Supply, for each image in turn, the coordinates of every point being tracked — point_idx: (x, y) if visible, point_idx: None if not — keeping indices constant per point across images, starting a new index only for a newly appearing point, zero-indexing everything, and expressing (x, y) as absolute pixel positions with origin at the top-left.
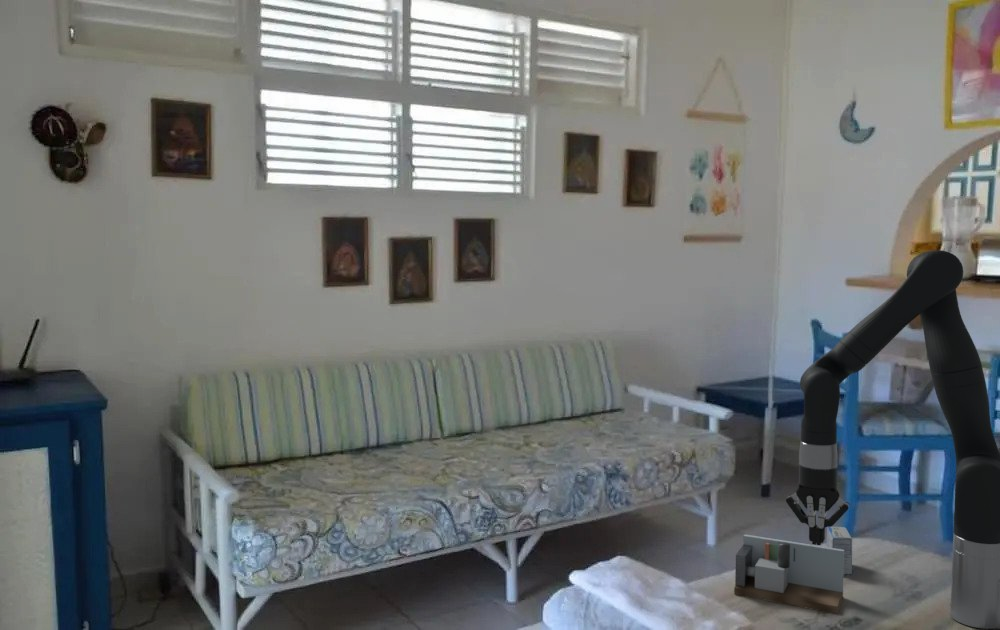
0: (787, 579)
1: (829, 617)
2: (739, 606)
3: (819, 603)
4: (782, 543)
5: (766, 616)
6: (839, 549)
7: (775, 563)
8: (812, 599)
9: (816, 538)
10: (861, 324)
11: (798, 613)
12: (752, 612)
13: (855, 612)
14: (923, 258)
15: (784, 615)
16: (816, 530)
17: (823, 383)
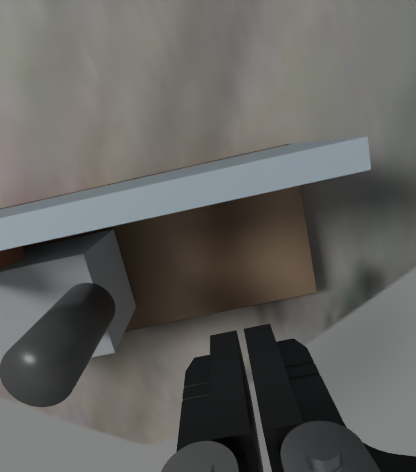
0: (109, 242)
1: (298, 320)
2: (65, 406)
3: (260, 302)
4: (25, 374)
5: (153, 417)
6: (336, 150)
7: (45, 301)
8: (231, 290)
9: (245, 379)
10: None
11: None
12: (112, 418)
13: (354, 238)
14: None
15: None
16: (257, 451)
17: None
